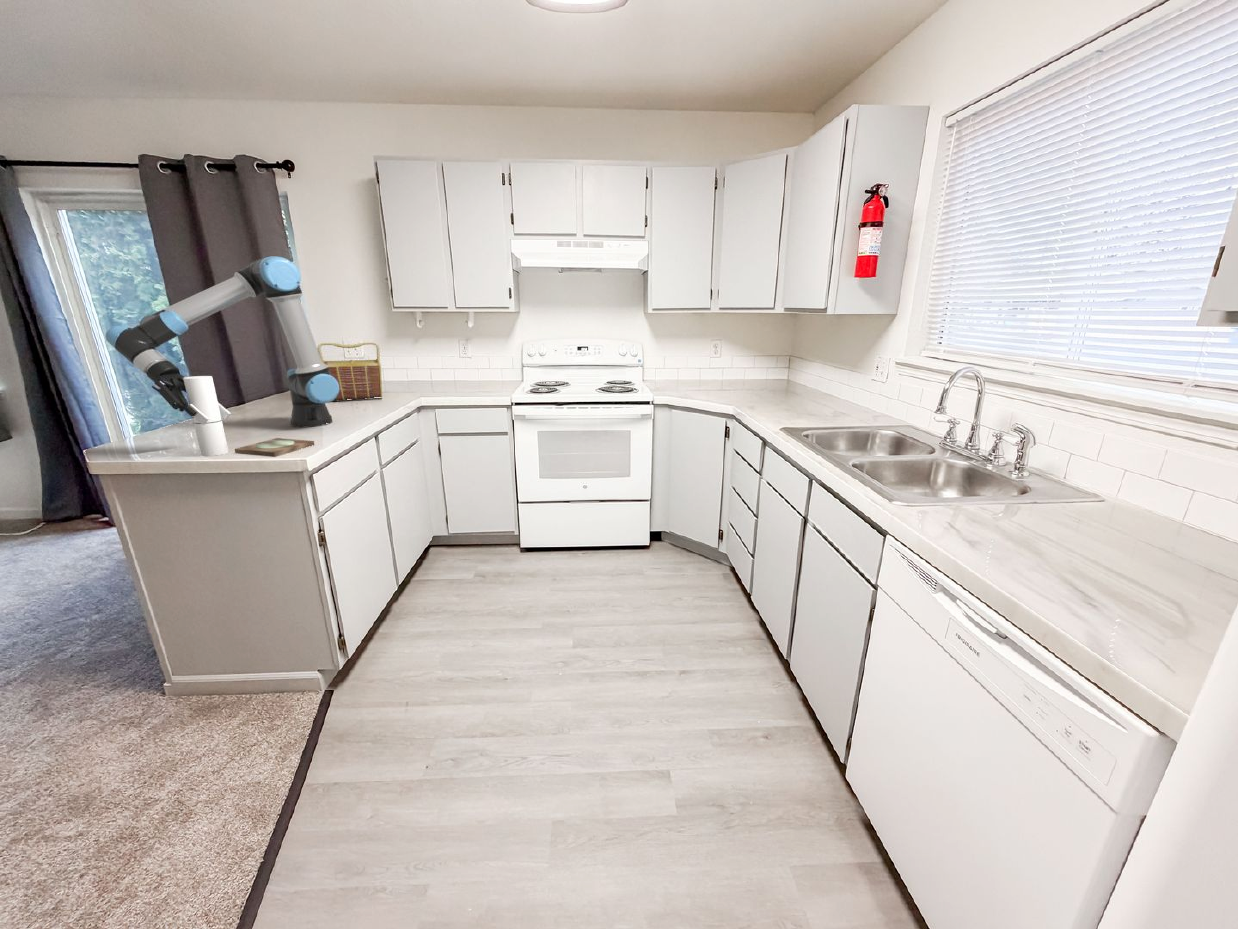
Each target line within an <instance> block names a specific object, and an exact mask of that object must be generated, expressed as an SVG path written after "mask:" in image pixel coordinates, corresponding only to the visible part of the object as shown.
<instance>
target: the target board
mask: <svg viewBox="0 0 1238 929" xmlns="http://www.w3.org/2000/svg"><path fill="white" fill-rule="evenodd" d="M312 445H313V446H315V440H306V439H304V440H303V439H291V438H282V437H281V438H280V437H276V438H271V439H267V440H264V441H260V442H256V443H252V444H248V445H244V446H241V447H237V448H234V453H235V454H238V455H239V454H241V455H251V456H263V457H271V458H272V457H274V458H276V457H280V456H282V455H286V454H290V453H293V452H295V451H296V452H297V451H299V449H300V450H302V449H301V448H303V449H307V448H310V447H313V446H312ZM309 446H310V447H309ZM306 447H307V448H306Z"/></svg>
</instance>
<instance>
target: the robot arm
mask: <svg viewBox="0 0 1238 929" xmlns="http://www.w3.org/2000/svg"><path fill="white" fill-rule="evenodd" d="M300 284H301V273H300V271H299V269H298V267H297V266H296V265H295V264H294V263H293V262H292V261H291V260H289V259H287V258H285V257H281V256H267V257H263V258H258V259H256V260H254V261H253V262H251V263H250V264H249V265H247V266H245V267H243V268H241V269H239V270H238V271H236V272H234V275H233V276H232V277H230V278H228V279H226V280H224V281H222V282H219V283H217V284H215V285H213V286H210V287H209V288H206V289H204V290H202V291H200V292H198V293H195V294H193V295H191V296H189V297H186V298H185V299H182V300H180V301H178V302H176V303H174V304H172V305H170V306H168V307H165V308H163V309H161V310H159V311H156V312H154V313H152V314H148V315H145V316H143V317H142V318H141V319H140V321H139V324H138V325H135V326H134V327H132V326H129V325H128V324H122V323H121V324H119V325H114V326H112V327H110V328H109V329H108V330H107V331H106V333H105V335H104V336H105V340H106V342H108V344H110V345H111V346H112V347H113V348H114V349H115V350H116V351H117V352H118V353H119V354H120V355H122V357H124V358H125V359H126V360H128V361H129V362H130V363H131V364H132V365H134V366H135V367H136V368H137V369H139V370H140V371H141V372H142V373H143V374H144V375H146V377H147V378H149V379H150V380H151V381H152V382H153V384H152V386H151V388H152V389H153V390H155V391H156V392H157V393H159V395H161V397H162V398H164V400H165V401H166V402H167V403H168V405H170V407H171V408H172V409H174V410H178V411H179V412H180V413H181V412H186V414H188V415H189V416H191V417H192V416H193V417H194V418H195V419H196V420H197V421H199V422H200V423H201V424H202V425H205V423H206V422H207V421H208V419H209V418H208V417H207V416H205V415H204V414H203V413H202V412H201V411H200V410H198V409H197V408H196V407H195V406H194V405H193V404H190V405H189V401H188V400H187V399H186V397H185V395H184V393H186V394H187V392H186V388H185V384H184V380H183V378H185V377H186V376H184V375H182V374H181V372H180V369H179V367H177V366H176V365H175V364H173V362H171V361H170V360H169V359H168V358H167V357H166V356H164V355H163V354H162V353H161V352H160V351H159V350H157V348H159V347H160V346H162V345H163V344H166V343H167V342H169V341H171V340H173V339H174V338H176V337H179V336H181V335H182V334H184V333H185V332H187V331H188V330H189V326H191V325H192V324H193V325H194V324H195V323H197V322H200V321H201V320H203V319H205V318H208V317H209V316H212V315H213V314H214V315H215V314H216V313H218V312H220V311H222V310H224V309H226V308H228V307H230V306H232V305H234V304H236V303H238V302H241V301H243V300H245V299H247V298H249V297H250V298H251V297H252V298H257V297H258V296H260V295H263V294H264V296H265V298H266V299H267V300H268V301H270V302H271V303H272V305H273V307H274V308H275V311H276V314H277V316H278V319H279V322H280V324H281V326H282V329H283V332H284V335H285V337H286V340H287V343H288V345H289V349H290V351H291V353H292V356H293V359H294V361H295V364H296V366H297V368H292V369H291V368H290V369H288V370H287V372H286V373H287V374H286V375H287V376H286V378H287V382H288V388H289V392H290V393H289V394H290V399H291V405H292V407H291V408H292V410H291V417H290V418H289V422H290V426H292V425H293V426H292V427H296V426H309V427H316V426H315V425H319V426H323V425H322V424H325V425H327V424H326V423H329V424H331V423H333V417H332V415H331V414H330V411H329V409H328V406H326V405H327V404H328V403H332V402H334V401H333V400H334V399H335V398H336V397H337V395H338V393H339V384H338V382H337V380H336V379H335V378H334V377H333V376H331V373H330V370H329V368H328V365H326V364H324V363H323V362H322V361H321V358H320V355H319V352H318V349H317V348H318V346H317V345H316V341H315V339H314V336H313V333H312V330H311V327H310V325H309V322H308V319H307V316H306V313H305V311H304V307H303V304H302V302H301V297H302V296H303V292H302V288H301V286H300ZM193 376H194V375H193ZM193 376H192V375H191V376H190V377H193ZM183 392H184V393H183ZM216 396H217V400H218V399H219V398H220V395H219V394H218V393H216ZM331 401H332V402H331ZM218 405H219V410H220V415H221V418H222V419H224V420H228V418H230V417H231V415H232V413H231V412H230V411H229V410H228V409H226V408H225V407H224V405H223V404H222V403H221V402H220V401H218Z"/></svg>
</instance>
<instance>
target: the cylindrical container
mask: <svg viewBox="0 0 1238 929" xmlns="http://www.w3.org/2000/svg"><path fill="white" fill-rule="evenodd" d="M184 377H185V378H183V380H184V384H185V388H186V392H187V393H186V392H185V393H186V395H187V399H188V400H187V402H188V405H190V404H193V405H194V406H195V407H196V408H197V409H198V410H200V411H201V412H202V413H203V414H204V415H205V416H207V417H208V418H209V419H208V421H207V422H206V423H205V425H202V424H201V423H200V422H199V421H197V420H196V419H195V418H194V417H193V416H191V417H192V421H193V425H194V429H195V436H196V438H197V443H198V448H199V450H200V451H199V452H200V455H202V457H215V455H218V456H222V455H221V454H223V455H226V454H228V453H229V452H230V451H229V447H228V443H227V438H226V434H225V430H224V424H223V418H222V417H221V415H220V410H219V405H218V402H219V401H218V399H217V396H216V394H217V393H216V392H217V391H216V387H215V384H214V379H213V376H212V375H197V376H196V375H195V376H194V375H193V377H191V376H184Z"/></svg>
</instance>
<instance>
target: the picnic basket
mask: <svg viewBox="0 0 1238 929" xmlns="http://www.w3.org/2000/svg"><path fill="white" fill-rule="evenodd" d="M364 345H374V346H375V347H376V359H359V360H358V359H357V360H356V359H355V360H353V359H350V360H324V358H323V353H322V350H321V349H322V348H321V347H323V346H334V347H337V348H344V349H348V348H349V349H354V348H360V347H362V346H364ZM317 349H318V352H319V355H320V358H321V361H322V362H323V363H324V364H326V365H328V368H329V370H330V373H331V376H333V377H334V378H335V379H336V380H337V382H338V384H339V393H338V395H337V397H336V398H335V399H334V400H333V401H332V402H338V401H337V400H344V401H348V400H347V399H361V400H366V399H365V398H374V397H382V398H383V386H382V384H383V383H382V382H383V381H382V363H381V360H380V346H379V344H377V342H376V343H375V342H360V343H356V344H341V343H336V342H335V343H334V342H323V343H320V344H318V345H317Z"/></svg>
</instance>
